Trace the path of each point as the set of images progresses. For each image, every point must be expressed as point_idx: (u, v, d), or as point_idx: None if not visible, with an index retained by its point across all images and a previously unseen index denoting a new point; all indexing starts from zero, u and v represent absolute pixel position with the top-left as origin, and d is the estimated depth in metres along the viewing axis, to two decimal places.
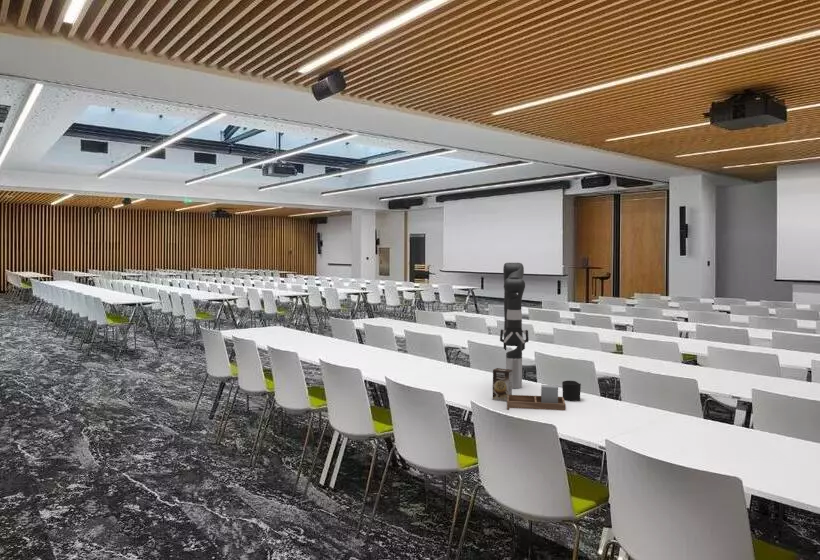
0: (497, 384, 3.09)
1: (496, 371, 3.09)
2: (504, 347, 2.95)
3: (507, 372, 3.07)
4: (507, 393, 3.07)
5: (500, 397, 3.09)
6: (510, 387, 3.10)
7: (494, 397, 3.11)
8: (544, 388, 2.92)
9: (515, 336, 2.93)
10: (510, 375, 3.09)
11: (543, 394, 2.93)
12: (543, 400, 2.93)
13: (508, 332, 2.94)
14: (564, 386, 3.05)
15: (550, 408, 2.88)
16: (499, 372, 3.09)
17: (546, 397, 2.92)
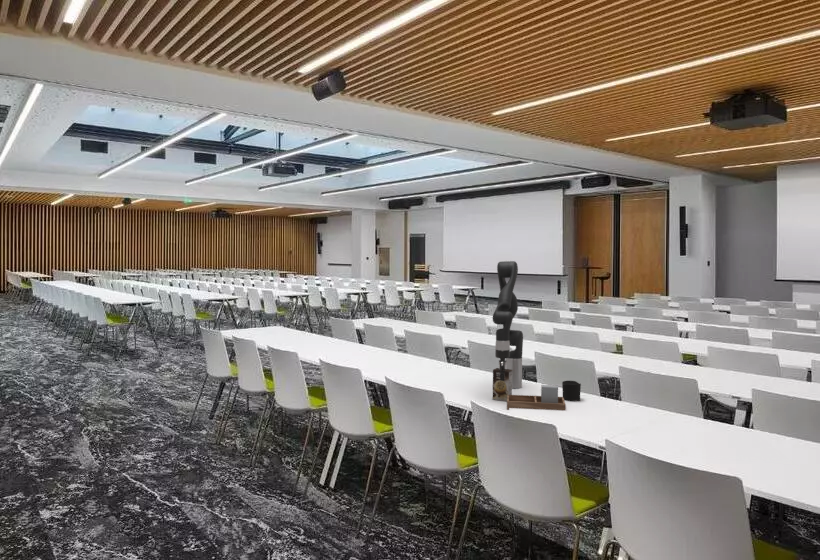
0: (497, 383, 3.09)
1: (496, 371, 3.09)
2: (503, 378, 3.07)
3: (507, 372, 3.07)
4: (507, 393, 3.07)
5: (500, 397, 3.09)
6: (510, 387, 3.10)
7: (494, 397, 3.11)
8: (544, 388, 2.92)
9: None
10: (510, 375, 3.09)
11: (543, 394, 2.93)
12: (543, 400, 2.93)
13: None
14: (564, 386, 3.05)
15: (550, 408, 2.88)
16: (499, 372, 3.09)
17: (546, 397, 2.92)
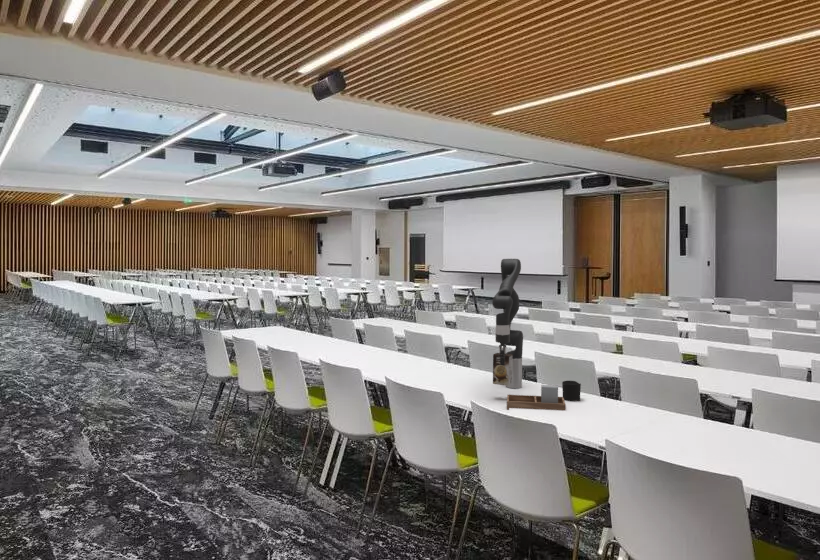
0: (497, 368, 3.09)
1: (496, 356, 3.09)
2: (503, 362, 3.06)
3: (507, 356, 3.06)
4: (507, 377, 3.07)
5: (500, 382, 3.09)
6: (510, 371, 3.10)
7: (494, 382, 3.11)
8: (544, 388, 2.92)
9: None
10: (510, 359, 3.09)
11: (543, 394, 2.93)
12: (543, 400, 2.93)
13: (504, 347, 3.08)
14: (564, 386, 3.05)
15: (550, 408, 2.88)
16: (499, 357, 3.08)
17: (546, 397, 2.92)
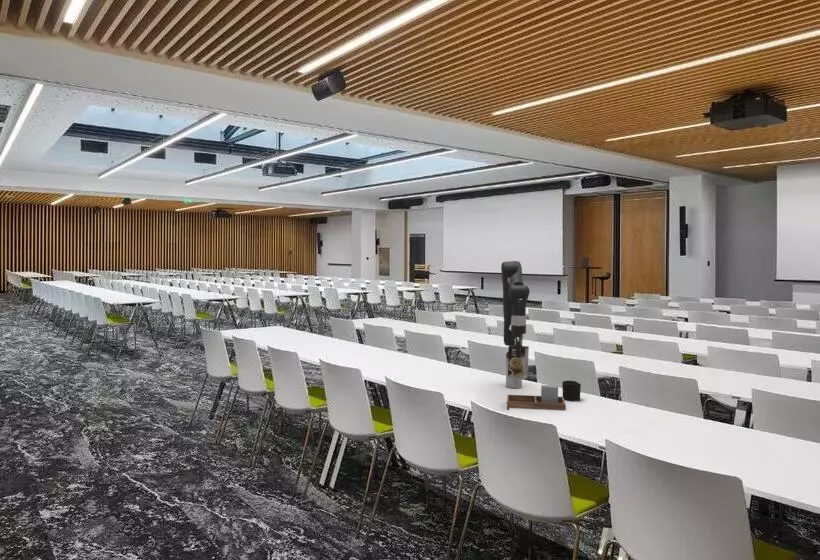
0: (513, 361, 2.96)
1: (512, 347, 2.96)
2: (519, 354, 2.93)
3: (523, 348, 2.93)
4: (523, 370, 2.94)
5: (516, 375, 2.95)
6: (527, 364, 2.96)
7: (509, 375, 2.97)
8: (544, 388, 2.92)
9: None
10: (526, 352, 2.95)
11: (543, 394, 2.93)
12: (543, 400, 2.93)
13: (520, 339, 2.94)
14: (564, 386, 3.05)
15: (550, 408, 2.88)
16: (515, 348, 2.95)
17: (546, 397, 2.92)
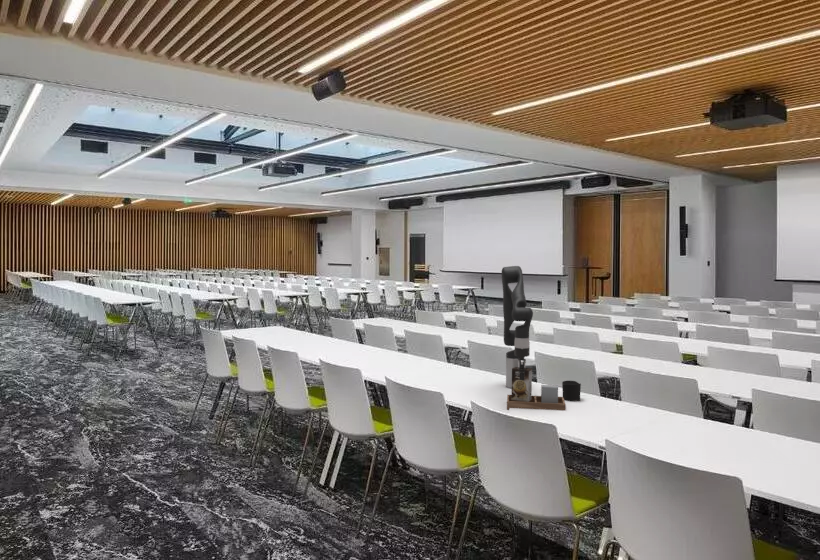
0: (516, 383, 2.95)
1: (515, 370, 2.95)
2: (523, 377, 2.92)
3: (527, 371, 2.92)
4: (527, 393, 2.93)
5: (520, 398, 2.94)
6: (530, 386, 2.95)
7: (513, 397, 2.96)
8: (544, 388, 2.92)
9: None
10: (530, 374, 2.94)
11: (543, 394, 2.93)
12: (543, 400, 2.93)
13: (524, 361, 2.93)
14: (564, 386, 3.05)
15: (550, 408, 2.88)
16: (518, 371, 2.94)
17: (546, 397, 2.92)
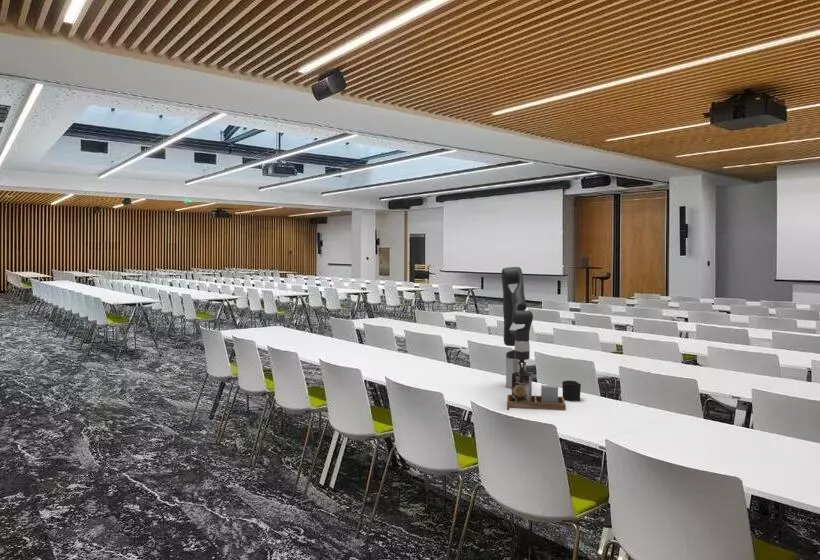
0: (517, 388, 2.95)
1: (515, 375, 2.95)
2: (523, 380, 2.92)
3: (527, 376, 2.92)
4: (527, 398, 2.93)
5: None
6: (530, 391, 2.95)
7: None
8: (544, 388, 2.92)
9: None
10: (530, 379, 2.94)
11: (543, 394, 2.93)
12: (543, 400, 2.93)
13: None
14: (564, 386, 3.05)
15: (550, 408, 2.88)
16: (519, 376, 2.94)
17: (546, 397, 2.92)
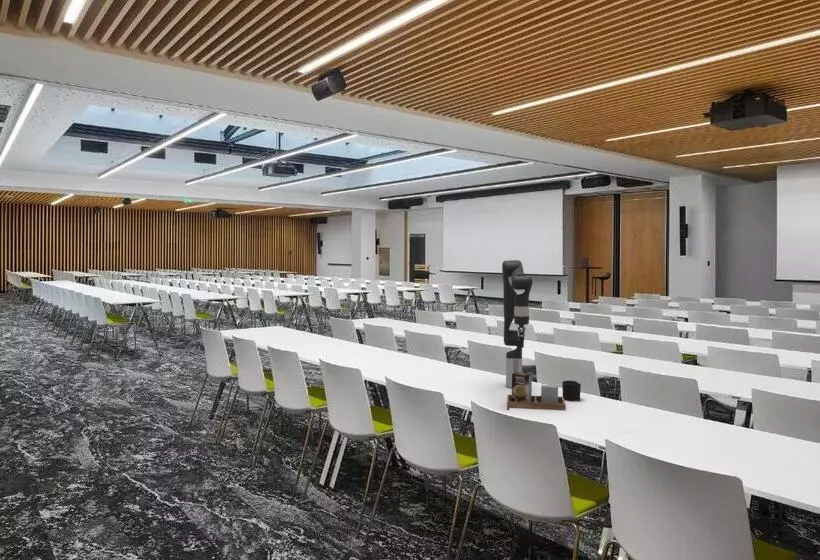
0: (517, 388, 2.95)
1: (515, 375, 2.95)
2: (522, 345, 2.94)
3: (527, 376, 2.92)
4: (527, 398, 2.93)
5: None
6: (530, 391, 2.95)
7: None
8: (544, 388, 2.92)
9: None
10: (530, 379, 2.94)
11: (543, 394, 2.93)
12: (543, 400, 2.93)
13: (523, 329, 2.96)
14: (564, 386, 3.05)
15: (550, 408, 2.88)
16: (519, 376, 2.94)
17: (546, 397, 2.92)
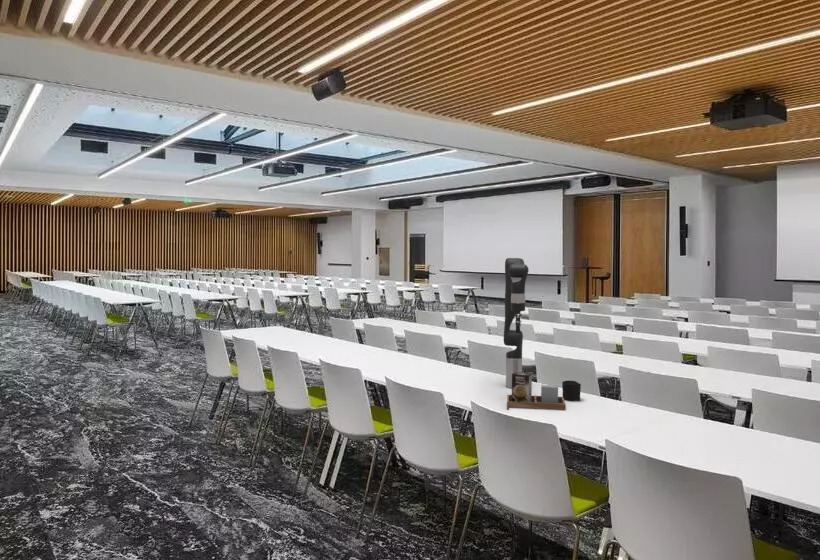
0: (517, 388, 2.95)
1: (515, 375, 2.95)
2: (519, 330, 3.06)
3: (527, 376, 2.92)
4: (527, 398, 2.93)
5: None
6: (530, 391, 2.95)
7: None
8: (544, 388, 2.92)
9: None
10: (530, 379, 2.94)
11: (543, 394, 2.93)
12: (543, 400, 2.93)
13: (520, 315, 3.07)
14: (564, 386, 3.05)
15: (550, 408, 2.88)
16: (519, 376, 2.94)
17: (546, 397, 2.92)
